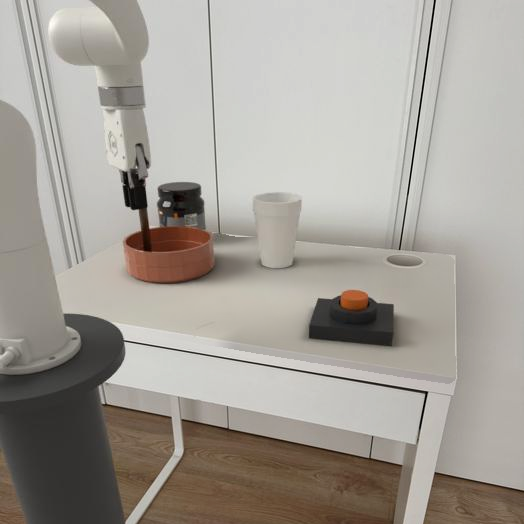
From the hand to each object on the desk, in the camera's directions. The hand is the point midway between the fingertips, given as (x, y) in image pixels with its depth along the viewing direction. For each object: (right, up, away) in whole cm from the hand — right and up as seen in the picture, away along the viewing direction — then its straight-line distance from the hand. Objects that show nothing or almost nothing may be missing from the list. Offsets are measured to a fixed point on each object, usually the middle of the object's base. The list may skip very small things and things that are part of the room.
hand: (136, 206), depth 97 cm
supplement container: (+6, -2, +22) cm, 23 cm away
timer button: (+37, -20, -19) cm, 47 cm away
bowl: (+5, -11, +6) cm, 13 cm away
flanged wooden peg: (+1, -9, +6) cm, 11 cm away
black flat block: (+37, -23, -17) cm, 47 cm away
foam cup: (+27, -9, +8) cm, 29 cm away
